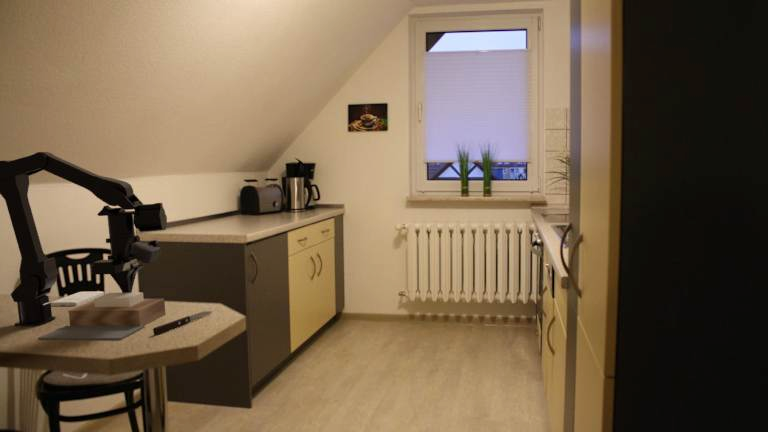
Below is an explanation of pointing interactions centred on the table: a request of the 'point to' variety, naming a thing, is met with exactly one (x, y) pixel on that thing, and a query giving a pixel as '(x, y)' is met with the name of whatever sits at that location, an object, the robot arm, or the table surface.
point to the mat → (92, 332)
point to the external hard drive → (77, 298)
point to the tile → (119, 299)
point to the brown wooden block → (117, 314)
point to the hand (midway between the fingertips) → (128, 295)
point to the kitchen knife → (179, 322)
